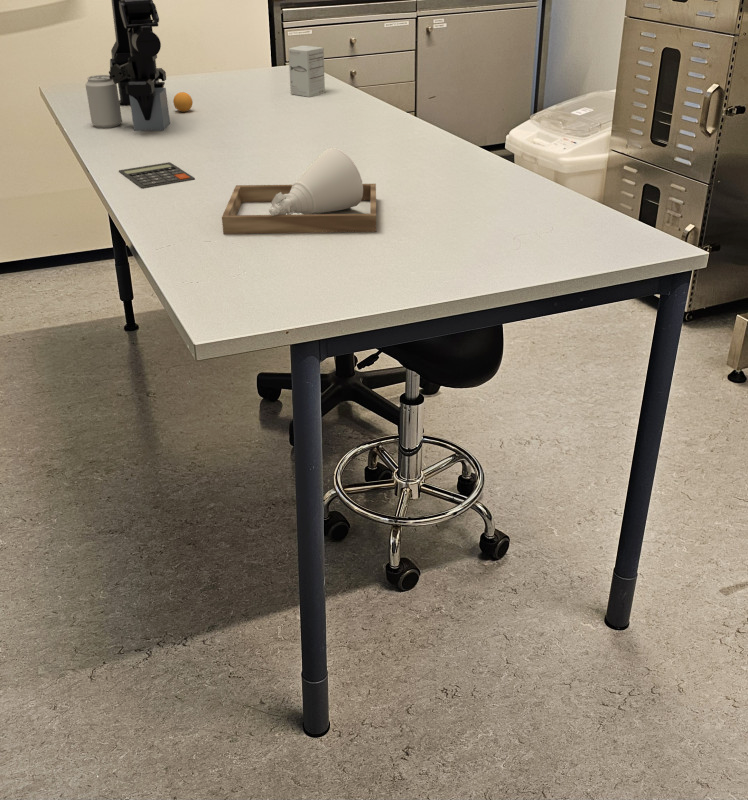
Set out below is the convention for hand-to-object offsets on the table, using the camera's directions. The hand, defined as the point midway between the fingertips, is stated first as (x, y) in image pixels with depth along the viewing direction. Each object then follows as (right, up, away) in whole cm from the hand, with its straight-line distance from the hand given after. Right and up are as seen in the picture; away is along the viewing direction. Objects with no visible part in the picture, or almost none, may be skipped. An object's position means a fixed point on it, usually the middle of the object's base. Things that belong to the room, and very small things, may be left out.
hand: (151, 116), depth 232 cm
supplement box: (+37, +17, +34) cm, 53 cm away
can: (-12, -1, +4) cm, 13 cm away
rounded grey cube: (0, -2, +1) cm, 3 cm away
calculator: (+10, -24, -36) cm, 45 cm away
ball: (+5, +8, +15) cm, 18 cm away
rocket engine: (+43, -37, -61) cm, 84 cm away
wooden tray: (+43, -37, -61) cm, 83 cm away
